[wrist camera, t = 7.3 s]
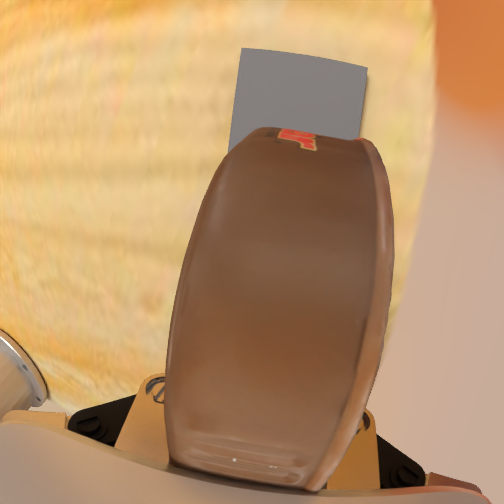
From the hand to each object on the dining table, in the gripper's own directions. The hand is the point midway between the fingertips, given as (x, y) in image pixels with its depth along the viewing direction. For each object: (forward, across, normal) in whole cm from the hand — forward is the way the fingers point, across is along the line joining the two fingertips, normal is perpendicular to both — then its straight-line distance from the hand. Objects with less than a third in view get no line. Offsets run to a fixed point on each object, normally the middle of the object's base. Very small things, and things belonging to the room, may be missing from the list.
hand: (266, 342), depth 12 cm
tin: (+1, 0, 0) cm, 1 cm away
